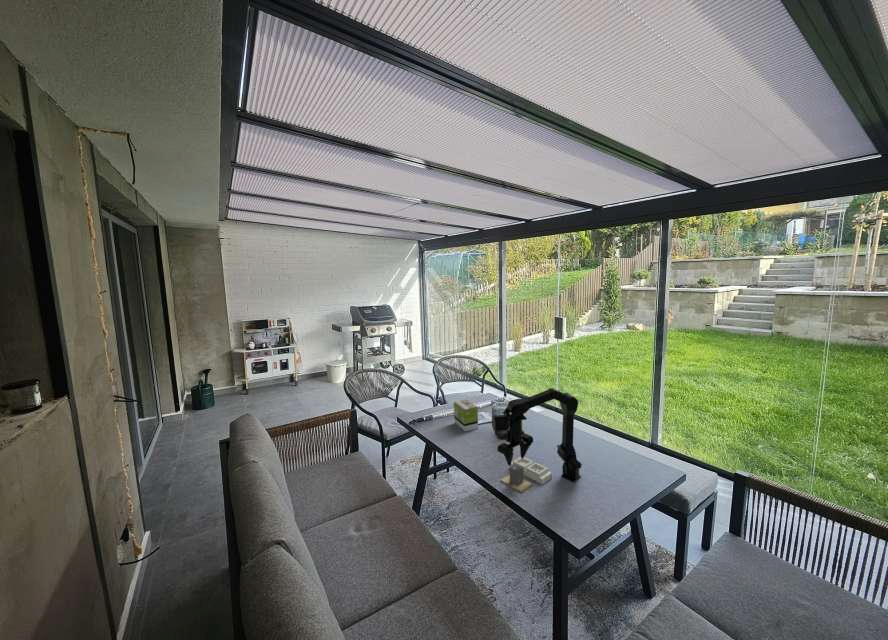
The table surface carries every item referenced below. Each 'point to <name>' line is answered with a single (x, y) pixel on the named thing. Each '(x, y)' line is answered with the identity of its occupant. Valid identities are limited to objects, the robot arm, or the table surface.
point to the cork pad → (520, 487)
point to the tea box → (466, 415)
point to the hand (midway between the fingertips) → (515, 461)
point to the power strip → (533, 470)
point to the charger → (516, 474)
